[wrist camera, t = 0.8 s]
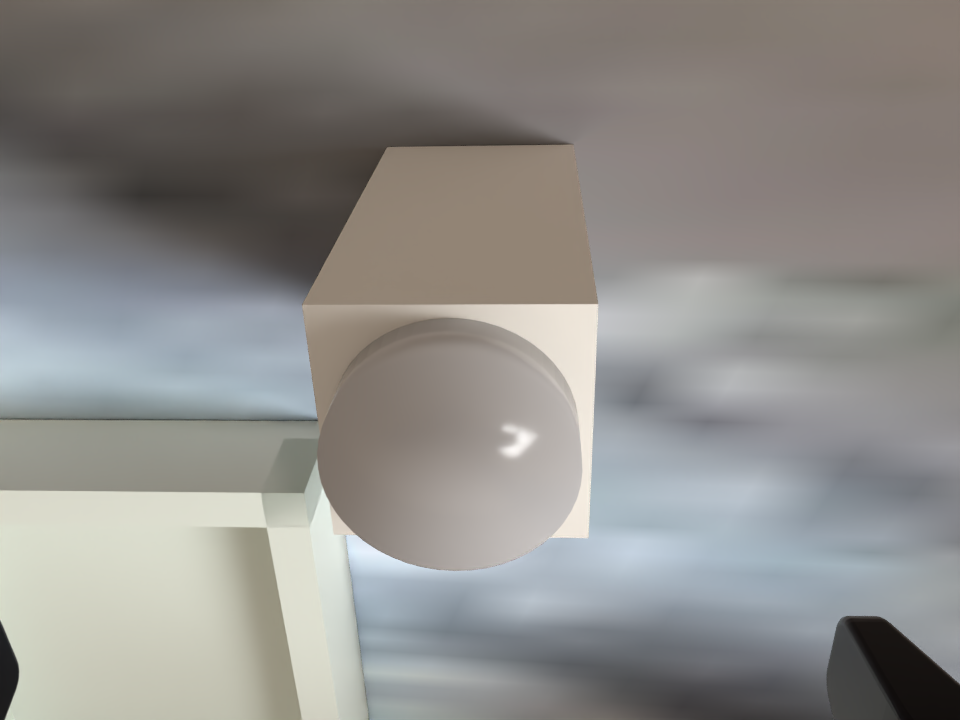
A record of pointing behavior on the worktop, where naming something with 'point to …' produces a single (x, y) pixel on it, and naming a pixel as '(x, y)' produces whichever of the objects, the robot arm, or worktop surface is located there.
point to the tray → (174, 573)
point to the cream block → (458, 356)
